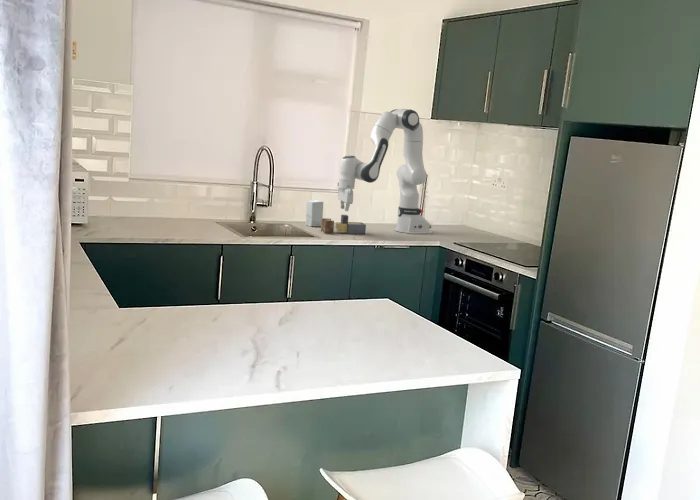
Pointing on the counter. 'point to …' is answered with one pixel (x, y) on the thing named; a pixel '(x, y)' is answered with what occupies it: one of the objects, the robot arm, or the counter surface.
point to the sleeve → (356, 228)
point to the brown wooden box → (327, 225)
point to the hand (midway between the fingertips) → (344, 209)
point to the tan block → (343, 224)
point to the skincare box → (314, 213)
